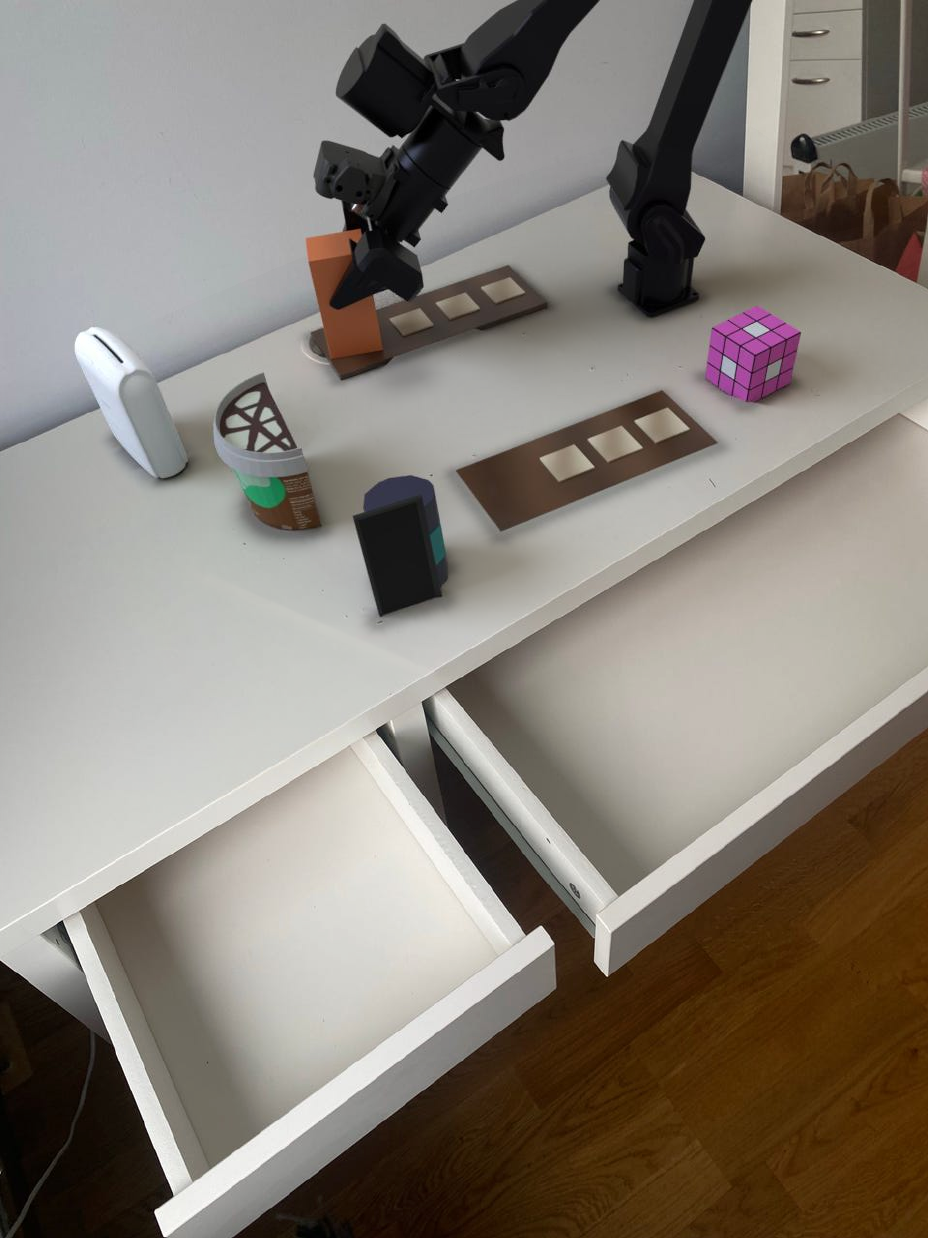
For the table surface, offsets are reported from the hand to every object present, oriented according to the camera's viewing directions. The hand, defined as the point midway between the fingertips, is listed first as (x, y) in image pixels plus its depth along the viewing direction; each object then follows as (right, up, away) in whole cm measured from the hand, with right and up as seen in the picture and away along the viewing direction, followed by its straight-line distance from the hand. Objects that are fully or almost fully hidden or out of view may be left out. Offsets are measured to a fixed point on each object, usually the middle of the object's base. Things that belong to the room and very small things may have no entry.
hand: (331, 293), depth 94 cm
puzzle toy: (+41, -10, -4) cm, 42 cm away
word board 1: (+10, -1, +7) cm, 12 cm away
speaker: (+9, -29, -16) cm, 35 cm away
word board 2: (+24, -18, -9) cm, 32 cm away
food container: (-4, -23, -9) cm, 25 cm away
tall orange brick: (+2, -4, +5) cm, 6 cm away
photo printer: (-17, -16, -3) cm, 24 cm away
